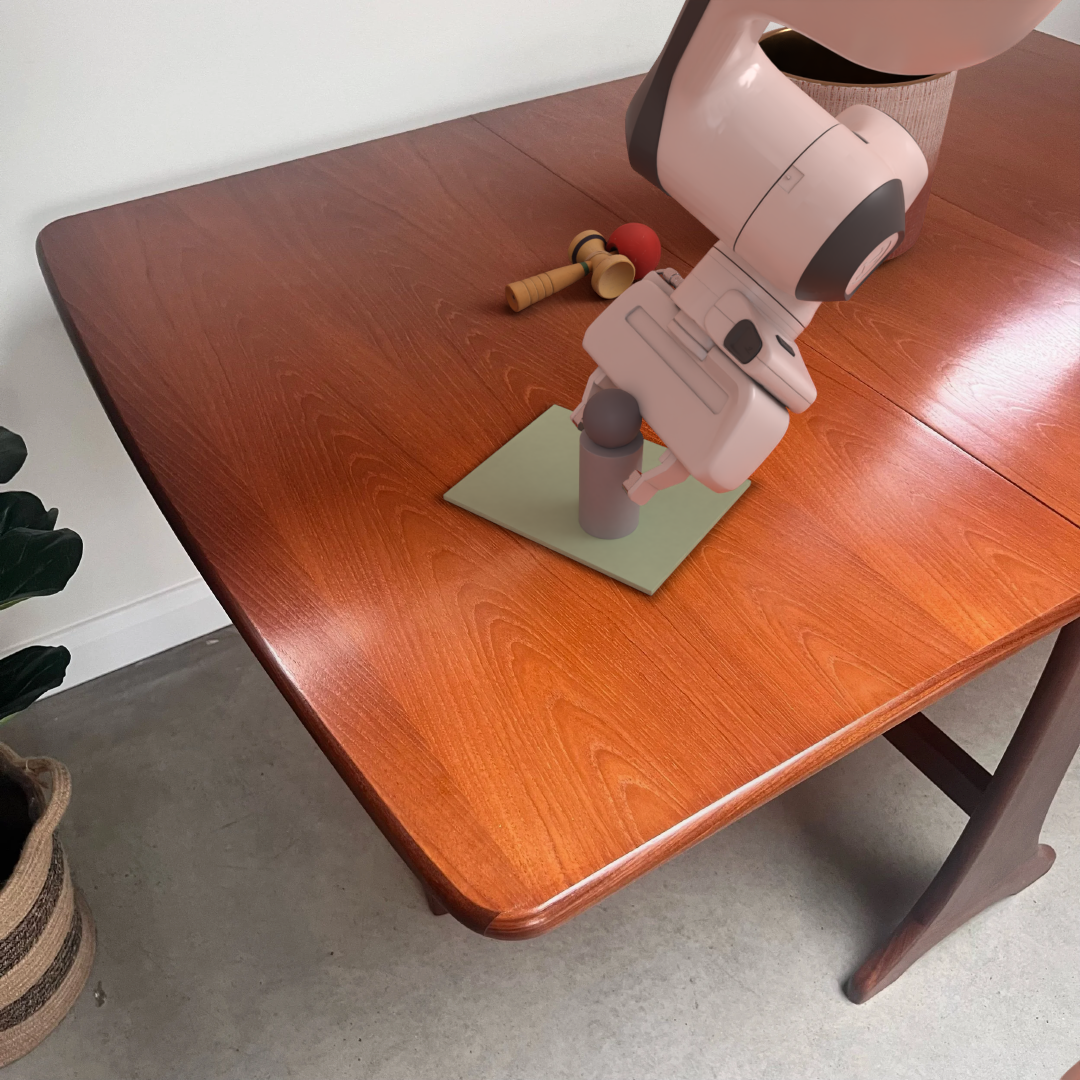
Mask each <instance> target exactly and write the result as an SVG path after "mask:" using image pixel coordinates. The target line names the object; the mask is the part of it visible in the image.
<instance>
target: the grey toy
mask: <svg viewBox="0 0 1080 1080" xmlns="http://www.w3.org/2000/svg"><path fill="white" fill-rule="evenodd" d="M582 420H583V426H584V430H583V431H582V432H581V434H580V440H579V524H580V526H581V528H582V529H583V530H584V531H585V532H586V533H588V534H589V535H591V536H594V537H596V538H600V539H619V538H623V537H625V536H627V535H629V534H631V533H632V532H633V531H634V530H635V529H636V528H637V526H638V523H639V510H640V505H638V504H637V503H635V502H633V501H632V500H631V499H630V498H629V497H628V495H627V494H626V493H625V491H624V490H623V489H622V484H623V482H624V481H625V480H627V479H629V476H630V475H631V473H632V472H633V471H634V470H635V469H636V470H638V471H640V472H641V473H642V461H643V445H644V439H645V438H644V434H643V433H642V432H641V428H642V425H643V418H642V416H641V415H640V412H639V406H638V403H637V401H636V399H635V398H634V397H633V396H632V395H631V394H629V393H628V392H626V391H624V390H621V389H616V388H609V389H604V390H601V391H599V392H597V393H596V394H594V395H593V396H592V397H591V398H590V399H589V400H588V402H587V403H586V405H585V408H584V411H583V417H582Z"/></svg>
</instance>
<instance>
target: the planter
mask: <svg viewBox="0 0 1080 1080" xmlns="http://www.w3.org/2000/svg"><path fill="white" fill-rule="evenodd" d="M758 44H759V46H760V47H761V49H762V50H763V52H764V53H765V55H766V56H767V57H768V58H769V60H770V61H771V62H772V63H773V64H774V65H775V66H776V67H777V69H778V70H779V71H780V72H782V73H783V74H784V75H785V76H786V77H787V78H788V79H790V80H791V81H792V82H793V83H794V84H795V85H797V86H798V87H799V88H800V89H801V90H802V91H803V92H805V93H806V94H807V95H808V96H809V97H810V98H812V99H813V100H814V101H815V102H816V103H817V104H819V105H820V106H821V107H822V108H823V109H824V110H826V111H827V112H828V113H829V114H830V115H831V116H833V117H834V118H835V117H836V116H838V115H839V114H840V113H841V112H843V111H844V110H845V109H847V108H848V107H850V106H853V105H858V104H860V105H868V106H871V107H874V108H877V109H879V110H881V111H883V112H884V113H886V114H888V115H889V116H891V117H892V118H894V119H895V120H896V121H898V122H899V123H900V124H901V125H902V126H903V127H904V128H905V129H906V130H907V131H908V132H909V133H910V134H911V135H912V136H913V138H914V139H915V140H916V142H917V144H918V145H919V147H920V148H921V150H922V152H923V154H924V156H925V159H926V162H927V166H928V177H927V180H926V183H925V184H924V186H923V188H922V189H921V191H920V193H919V194H918V196H917V197H916V198H915V200H914V201H913V203H912V204H911V206H910V207H909V209H908V210H907V211H906V213H905V238H904V240H903V242H902V243H901V244H900V246H899V247H898V248H897V249H896V250H895V251H894V252H893V253H892V254H890V255H889V256H888V257H887V258H886V259H885V260H884V261H883V263H886V262H888V261H891V260H893V259H896V258H897V257H900V256H902V255H904V254H905V253H906V252H908V251H909V250H910V249H912V248H913V247H914V246H915V245H916V243H917V241H918V240H919V237H920V235H921V232H922V230H923V226H924V222H925V218H926V213H927V209H928V204H929V200H930V196H931V191H932V188H933V187H932V186H933V182H934V177H935V173H936V169H937V164H938V158H939V155H940V150H941V146H942V141H943V137H944V132H945V128H946V124H947V119H948V116H949V115H948V114H949V110H950V106H951V101H952V98H953V93H954V89H955V85H956V81H957V76H958V72H959V70H956V71H951V72H945V73H938V74H928V75H901V74H892V73H886V72H881V71H877V70H873V69H870V68H866V67H864V66H861V65H859V64H856V63H854V62H852V61H850V60H848V59H846V58H844V57H842V56H840V55H839V54H837V53H835V52H833V51H831V50H830V49H828V48H826V47H824V46H823V45H821V44H819V43H817V42H816V41H814V40H812V39H810V38H808V37H806V36H805V35H803V34H801V33H799V32H796V31H794V30H792V29H790V28H787V27H785V26H783V27H779V28H775V29H771V30H768V31H766V32H764V33H763V34H762V36H761V37H760V39H759V41H758Z"/></svg>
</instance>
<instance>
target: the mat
mask: <svg viewBox="0 0 1080 1080" xmlns="http://www.w3.org/2000/svg"><path fill="white" fill-rule="evenodd" d="M573 411H574V410H571V409H568V408H566V407H563V406H560V405H557V404H556V403H555V404H553V405H551V406H550V407H549V408H548V409H547V410H546V411H544V412H543V413H542V414H540V415H539V416H538V417H537V418H536V419H534V420H533V421H531V422H530V423H529V425H527V426H526V427H525V428H523V429H522V430H521V431H520V432H518V433H517V434H516V435H515V436H514V437H512V438H511V439H510V440H509V441H507V442H506V443H505V444H504V445H502V446H501V447H500V448H499V449H498V450H496V451H495V452H494V453H493V454H492V455H490V456H489V457H487V459H485V460H484V461H483V462H482V463H480V464H479V465H478V466H476V468H474V469H473V470H472V471H471V472H469V473H468V474H467V475H466V476H464V477H463V478H462V479H461V480H460V481H458V482H457V483H456V484H455V485H454V486H452V487H451V488H450V489H448V490H447V491H446V492H445V493H444V494H443V500H445V501H446V502H449V503H451V504H453V505H455V506H458V507H459V508H462V509H463V510H466V511H468V512H470V513H472V514H475V515H476V516H479V517H481V518H482V519H486V520H487V521H490V522H492V523H494V524H496V525H498V526H501V527H502V528H505V529H507V530H509V531H511V532H513V533H515V534H517V535H520V536H522V537H524V538H526V539H528V540H531V541H533V542H535V543H537V544H539V545H542V546H543V547H545V548H547V549H549V550H552V551H554V552H555V553H558V554H560V555H562V556H565V557H567V558H569V559H571V560H573V561H576V562H577V563H580V564H581V565H584V566H586V567H588V568H590V569H593V570H594V571H597V572H599V573H600V574H604V576H605V575H606V576H607V577H610V578H611V579H614V580H616V581H618V582H621V584H625V585H627V586H629V587H631V588H633V589H636V590H638V591H639V592H642V593H644V594H646V595H648V596H653V595H654V594H655V592H657V591H658V590H659V588H660V587H661V586H662V585H663V584H664V582H666V580H667V579H668V578H669V577H670V576H671V575H672V573H673V572H674V571H675V570H676V569H677V568H678V567H679V566H680V564H682V562H684V560H685V559H686V558H687V557H688V556H689V555H690V553H692V551H693V550H694V549H695V548H696V547H697V546H698V544H700V542H701V541H702V540H703V539H704V538H705V537H706V536H707V535H708V533H709V532H710V531H711V530H712V529H713V528H714V527H715V526H716V525H717V523H718V522H719V521H720V520H721V519H722V518H723V517H724V515H726V513H727V512H728V511H729V510H730V509H731V508H732V506H734V504H735V503H736V502H737V501H738V500H739V499H740V497H742V496H743V494H744V493H745V492H746V491H747V490H748V488H750V486H751V484H752V480H750V479H749V478H747V479H746V481H745V482H743V483H742V484H741V485H740V486H739V487H738V488H736V489H734V490H732V491H728V492H724V493H716V492H714V491H712V490H711V489H709V488H708V487H706V486H704V485H703V484H702V483H700V482H699V481H698V480H696V479H695V478H694V477H693V476H692V475H690V476H689V477H688V478H687V479H686V480H685V481H684V482H682V483H679V484H676V485H673V486H671V487H668V488H665V489H663V490H658V491H657V492H656V494H655V495H654V496H653V497H652V498H651V499H650V500H649V501H648V502H647V503H646V504H645V505H640V510H639V523H638V526H637V528H636V529H635V530H634V531H633V532H632V533H631V534H629V535H627V536H625V537H623V538H619V539H600V538H596V537H594V536H591V535H589V534H588V533H586V532H585V531H584V530H583V529H582V528H581V526H580V524H579V440H580V434H581V431H579V430H578V429H577V428H576V426H575V425H574V424H573V423H572V421H571V420H570V415H571V413H572V412H573ZM667 449H668V447H667V446H664V445H661V444H658V443H655V442H653V441H651V440H650V441H649V440H648V439H645V438H644V445H643V461H642V474H643V473H645V472H647V471H649V470H651V469H653V468H655V467H657V466H659V465H661V464H662V463H661V462H660V461H659V458H660V456H661V455H662V454H663V453H664V452H665V451H666V450H667Z"/></svg>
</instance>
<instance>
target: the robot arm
mask: <svg viewBox="0 0 1080 1080" xmlns="http://www.w3.org/2000/svg"><path fill="white" fill-rule="evenodd" d="M1062 1H1063V0H684V3H683V5H682V7H681V8H680V11H679V13H678V15H677V17H676V20H675V23H674V24H673V26H672V28H671V30H670V33H669V35H668V36H667V38H666V39H667V40H666V41H665V43H664V45H663V47H662V49H661V51H660V53H659V55H657V57H656V60H655V61H654V62H653V64H652V66H651V67H650V68H649V71H648V72H647V73H646V75H645V76H644V77H643V79H642V81H641V82H640V83H639V85H638V88H637V89H636V91H635V93H634V95H633V96H632V98H631V100H630V102H629V104H628V105H627V106H628V107H627V109H626V112H625V116H624V118H625V119H624V134H625V145H626V151H627V152H626V153H627V156H628V157H627V158H628V162H629V166H630V167H631V169H632V170H633V171H634V172H635V173H637V174H638V175H640V176H641V177H642V178H643V179H645V180H646V181H647V182H649V183H650V184H652V185H653V186H654V187H655V188H657V189H658V190H660V191H661V192H662V193H664V194H665V195H666V196H667V197H671V199H672V198H673V199H674V200H675V201H676V202H677V203H678V204H679V205H680V206H681V207H683V208H684V209H685V210H686V211H687V212H688V213H689V214H691V215H692V216H693V217H694V218H695V219H696V220H697V221H699V222H700V223H701V225H702V226H704V227H705V228H706V229H707V230H708V231H709V232H711V233H712V235H714V236H715V237H716V238H718V239H719V240H717V241H716V243H714V244H713V246H712V247H710V249H709V250H708V251H707V253H705V254H704V256H703V257H702V258H701V259H699V261H698V263H697V264H696V265H695V266H694V267H693V268H692V269H691V270H690V272H689V273H688V274H687V275H686V277H684V278H683V277H682V275H681V274H680V272H679V271H677V270H676V269H674V268H672V267H666V268H660V269H655V270H654V271H651V272H649V273H648V274H647V275H646V276H645V277H644V278H642V279H640V280H639V281H637V282H635V283H632V284H631V285H630V287H629V288H628V289H627V290H625V291H624V292H623V293H622V294H621V295H620V296H618V297H616V298H614V300H613V301H612V302H611V303H610V304H609V305H608V306H607V307H606V308H605V309H604V310H603V311H602V312H601V313H600V314H599V315H598V316H597V317H596V318H595V319H594V320H593V321H592V322H591V323H590V325H589V326H588V327H587V329H586V330H585V332H584V336H583V338H582V343H581V347H582V348H583V350H584V351H585V352H586V353H587V354H588V355H589V357H590V358H591V359H592V360H593V361H594V362H595V363H596V365H597V367H596V368H595V369H594V370H593V372H592V373H591V374H590V375H589V377H588V380H587V383H586V386H585V389H584V391H583V395H582V398H581V402H580V403H579V404H578V405H577V406H576V407H575V409H573V410H572V411H573V412H572V413H571V415H570V420H571V421H572V423H573V424H574V425H575V426H576V428H577V429H578V430H579V431H581V432H582V431H583V430H584V426H583V420H582V417H583V411H584V408H585V405H586V403H587V402H588V400H589V399H590V398H591V397H592V396H593V395H594V394H596V393H597V392H599V391H601V390H604V389H609V388H616V389H621V390H624V391H626V392H628V393H629V394H631V395H632V396H633V397H634V398H635V399H636V401H637V403H638V406H639V412H640V415H641V416H642V420H644V421H645V423H646V424H647V425H648V426H649V427H650V428H651V429H652V431H653V432H654V433H655V434H656V435H657V436H658V437H659V439H660V440H661V441H662V442H663V443H664V445H665V447H666V448H668V449H667V450H666V451H665V452H664V453H663V454H662V455H661V456H660V458H659V461H660V462H661V463H662V464H661V465H659V466H657V467H655V468H653V469H651V470H649V471H647V472H645V473H643V474H642V473H641V472H640V471H638V470H636V469H635V470H634V471H633V472H632V473H631V475H630V476H629V479H627V480H625V481H624V482H623V484H622V489H623V490H624V491H625V493H626V494H627V495H628V497H629V498H630V499H631V500H632V501H633V502H635V503H637V504H638V505H645V504H646V503H647V502H648V501H649V500H650V499H651V498H652V497H653V496H654V495H655V494H656V492H657V491H658V490H663V489H665V488H668V487H671V486H673V485H676V484H679V483H682V482H684V481H685V480H686V479H687V478H688V477H689V476H690V475H692V476H693V477H694V478H695V479H696V480H698V481H699V482H700V483H702V484H703V485H704V486H706V487H708V488H709V489H711V490H712V491H714V492H716V493H724V492H728V491H732V490H734V489H736V488H738V487H739V486H740V485H741V484H742V483H743V482H745V481H746V479H749V478H750V476H752V475H753V473H755V471H756V470H757V469H758V468H759V467H760V466H761V465H762V464H763V463H764V462H765V460H766V459H767V458H768V457H769V456H770V454H771V453H772V452H773V451H774V450H775V448H776V447H777V446H778V445H779V444H780V443H781V441H782V439H783V438H784V436H785V435H786V433H787V430H788V428H789V425H790V412H792V413H793V414H797V415H798V414H802V413H804V412H805V411H806V410H808V408H810V407H811V405H813V404H814V402H815V401H816V399H817V396H818V391H817V389H816V386H815V383H814V381H813V380H812V377H811V375H810V372H809V370H808V369H807V368H808V367H807V366H806V363H805V362H804V359H803V356H802V354H801V352H800V349H799V347H798V345H797V343H796V342H795V341H796V339H797V338H798V337H799V336H800V335H801V334H802V333H803V332H804V331H805V329H806V328H808V326H809V325H810V323H811V322H812V320H813V318H814V316H815V314H816V312H817V310H818V308H819V307H820V306H821V305H822V303H824V302H825V303H826V302H829V303H830V302H831V303H832V302H848V301H850V299H852V298H853V296H854V295H855V293H856V292H857V291H858V289H860V287H862V285H863V284H865V282H866V281H867V280H868V279H869V277H871V275H873V273H874V272H875V271H876V270H877V269H878V268H879V267H880V266H881V265H882V264H883V263H884V262H883V261H884V260H885V259H886V258H887V257H888V256H889V255H890V254H892V253H893V252H894V251H895V250H896V249H897V248H898V247H899V246H900V244H901V243H902V242H903V240H904V238H905V213H906V211H907V210H908V209H909V207H910V206H911V204H912V203H913V201H914V200H915V198H916V197H917V196H918V194H919V193H920V191H921V189H922V188H923V186H924V184H925V183H926V180H927V177H928V166H927V162H926V159H925V156H924V154H923V152H922V150H921V148H920V147H919V145H918V144H917V142H916V140H915V139H914V138H913V136H912V135H911V134H910V133H909V132H908V131H907V130H906V129H905V128H904V127H903V126H902V125H901V124H900V123H899V122H898V121H896V120H895V119H894V118H892V117H891V116H889V115H888V114H886V113H884V112H883V111H881V110H879V109H877V108H874V107H871V106H868V105H860V104H858V105H853V106H850V107H848V108H847V109H845V110H844V111H843V112H841V113H840V114H839V115H838V116H836V117H835V118H834V117H833V116H831V115H830V114H829V113H828V112H827V111H826V110H824V109H823V108H822V107H821V106H820V105H819V104H817V103H816V102H815V101H814V100H813V99H812V98H810V97H809V96H808V95H807V94H806V93H805V92H803V91H802V90H801V89H800V88H799V87H798V86H797V85H795V84H794V83H793V82H792V81H791V80H790V79H788V78H787V77H786V76H785V75H784V74H783V73H782V72H780V71H779V70H778V69H777V67H776V66H775V65H774V64H773V63H772V62H771V61H770V60H769V58H768V57H767V56H766V55H765V53H764V52H763V50H762V49H761V47H760V46H759V44H758V41H759V39H760V37H761V36H762V34H763V33H765V31H766V30H767V28H768V27H769V25H770V23H774V24H777V25H780V26H783V27H787V28H790V29H792V30H794V31H796V32H799V33H801V34H803V35H805V36H806V37H808V38H810V39H812V40H814V41H816V42H817V43H819V44H821V45H823V46H824V47H826V48H828V49H830V50H831V51H833V52H835V53H837V54H839V55H840V56H842V57H844V58H846V59H848V60H850V61H852V62H854V63H856V64H859V65H861V66H864V67H866V68H870V69H873V70H877V71H881V72H886V73H892V74H901V75H928V74H938V73H945V72H951V71H956V70H958V71H959V70H964V69H967V68H970V67H973V66H976V65H980V64H981V63H984V62H987V61H990V60H991V59H994V58H995V57H997V56H999V55H1001V54H1003V53H1005V52H1006V51H1008V50H1010V49H1011V48H1013V47H1015V45H1018V43H1020V42H1021V41H1022V40H1023V39H1025V38H1026V37H1027V36H1028V35H1029V34H1030V33H1032V31H1033V30H1034V29H1035V28H1037V27H1038V26H1039V24H1040V23H1042V22H1043V21H1044V20H1045V19H1046V18H1047V17H1048V16H1049V15H1050V13H1051V12H1052V11H1053V10H1055V8H1057V6H1058V5H1059V4H1060V3H1061V2H1062ZM661 275H662V276H661ZM789 411H790V412H789ZM1059 1080H1080V1059H1079V1060H1078V1061H1077V1062H1075V1063H1074V1064H1073V1065H1072V1066H1071V1067H1069V1069H1068V1070H1066V1071H1065V1072H1064V1073H1063V1074H1062V1075H1061V1077H1060V1078H1059Z"/></svg>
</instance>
